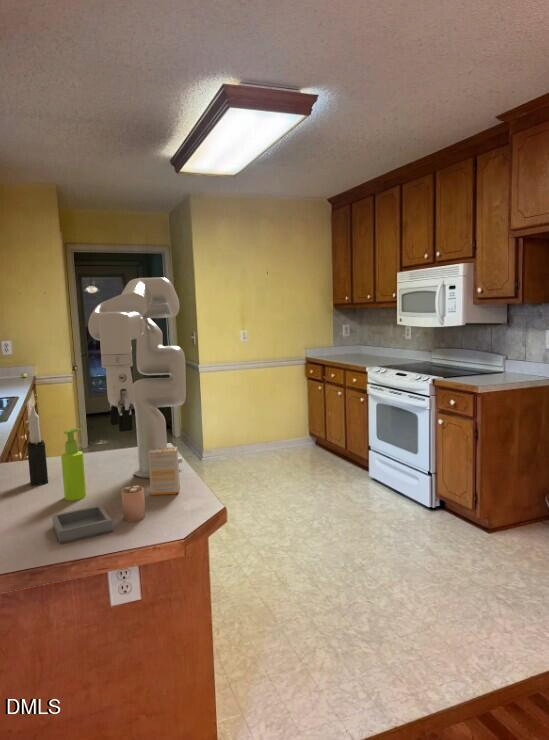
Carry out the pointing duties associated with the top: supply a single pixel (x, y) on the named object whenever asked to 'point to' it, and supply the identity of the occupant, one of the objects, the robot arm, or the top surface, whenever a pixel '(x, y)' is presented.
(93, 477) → the top surface
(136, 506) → the cup
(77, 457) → the soap dispenser
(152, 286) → the robot arm
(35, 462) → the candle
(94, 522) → the tray
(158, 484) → the supplement box
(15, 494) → the top surface
